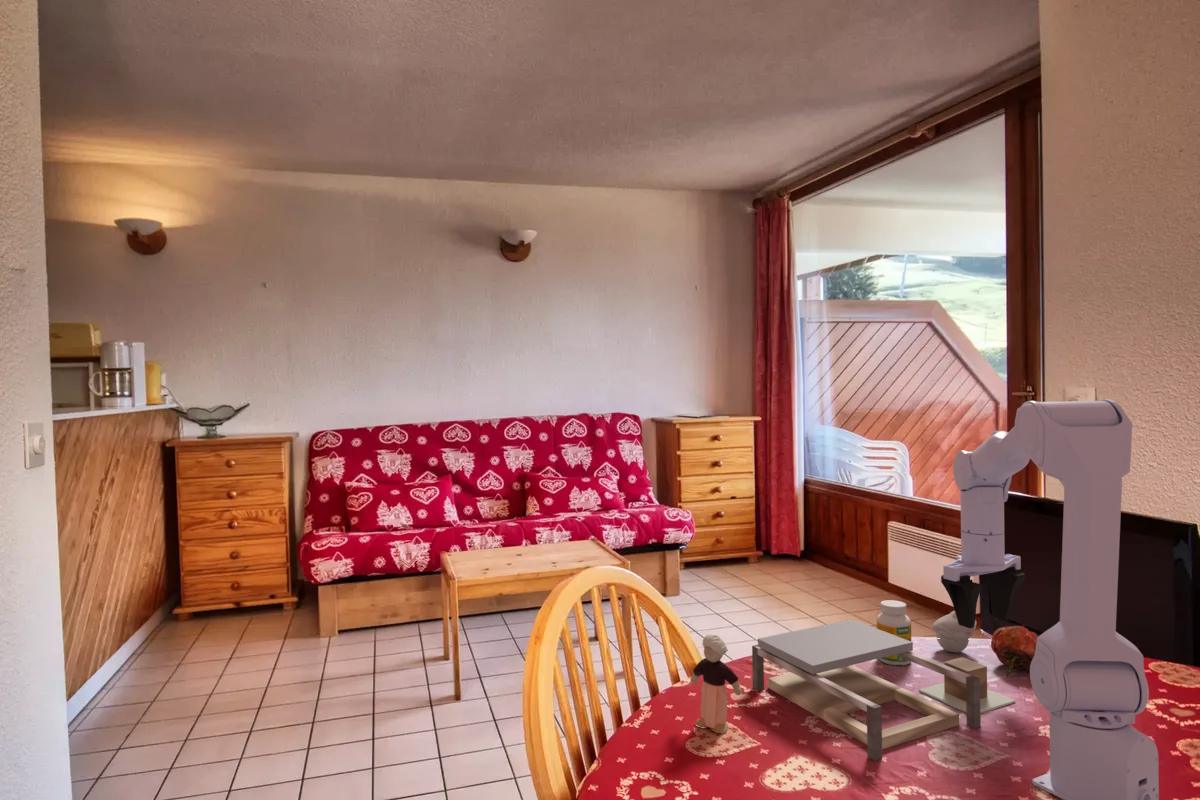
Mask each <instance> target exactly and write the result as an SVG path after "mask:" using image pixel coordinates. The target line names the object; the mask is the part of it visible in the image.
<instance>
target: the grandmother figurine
mask: <svg viewBox="0 0 1200 800" xmlns="http://www.w3.org/2000/svg"><path fill="white" fill-rule="evenodd" d="M702 646H703V655H704V657H705V658H703V659H701V660H700V661H699V662H698V663H697V664H696V666H695V667H694V668H693V672H692V676H691V678H690V682H691V684H692V685H697V684H698V682H699V679H700V677H701V676H702V678H703V679H702V682H701V703H700V718H698V719H697V720H696V721H695V723H696V725H698V726H700V727H707V726H708V728H710V729H712V730H711V732H712V731H714V732H716V734H718V733H723V734H725V733H726V732H727V731H726V730H728V729H729V725H728V723H727V717H728V716H727V713H728V697H727V688H726V684H727V683H728V684H729V685H730V686H731V688H732V689H733V692H734V694H735V695H737V696H740V695H742V694H743V690H742V688H741V687H740V682H739V677H738V676H737V675H736V673H735V672H734V671H733V670H732V668H730V667H729V666H727V664H725V663H724V661H722V660H721V659H722V658H723V656H724V655H725V654H726V653H727V652H728V651H729V649H728V648H727V644H726V643H725V642H724V640H722V638H721V637H720V636H719V635H718V634H717V635H716V634H707V635H705V636H704V637H703V639H702ZM726 682H727V683H726ZM727 728H728V729H727ZM714 732H713V733H714Z"/></svg>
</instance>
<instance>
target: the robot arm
mask: <svg viewBox="0 0 1200 800" xmlns="http://www.w3.org/2000/svg"><path fill="white" fill-rule="evenodd" d="M1132 435H1133V422H1132V421H1131V419H1130V418H1129V416H1128V415H1127V413H1126V412H1125V410H1124V409H1123V407H1122V406H1121V405H1120V404H1119V403H1118V402H1117V401H1115V400H1113V399H1101V400H1082V401H1081V400H1080V401H1079V400H1077V401H1075V400H1074V401H1036V400H1027V401H1025V402H1023V404H1022V405H1021V406H1020V407H1018V408H1017V409H1016V414H1015V419H1014V426H1013V427H1012V428H1011V429H1010V431H1006V430H994V431H993V432H992V433H991V434H990V437H989V438H987V439H986V440H985V441H984V442H983V443H980V445H978V446H977V447H976V449H974V450H973V451H967V450H963V449H962V450H958V451H957V453H956V454H955V456H954V459H953V465H952V470H953V471H952V473H953V478H954V482H955V485H956V487H957V488H958V489H959V490H960V492H959V493H960V546H961V547H960V549H961V550H960V553H961V555H960V554H959V555H956V556H955V561H953V562H951V563H949V564H948V563H947V564H945V565H943V567H942V568H943V574H942V575H940V582H941V584H942V585H943V587H944V588H945V590H946V592H947V594H948V595H949V598H950V600H951V604H952V607H953V610H954V611H955V613H956V616H957V620H958V624H959V625H961V626H964V627H967V628H974V625H975V620H976V617H977V615H976V614H977V605H978V601H979V597H980V593H981V591H982V588H983V587H984V585H983V584H982V583H978V582H974V580H973V579H971V577H976V576H981V575H984V577H985V580H986V583H987V586H988V592H989V599H990V610H991V614H992V617H993V618H996V619H1000V620H1002V621H1009V617H1010V614H1011V612H1012V607H1013V604H1014V601H1015V598H1016V595H1017V593H1018V591H1019V589H1020V587H1021V585H1022V584H1023V583H1024V581H1025V579H1026V574H1025V573H1024V572H1021V571H1018V570H1021V567H1022V566H1021V565H1022V563H1021V560H1022V559H1021V558H1022V557H1021V556H1020V555H1016V554H1014V555H1013V554H1010V553H1006V554H1005V552H1006V551H1005V550H1006V549H1005V548H1006V547H1005V502H1006V503H1007V501H1008V499H1009V488H1010V486H1011V484H1012V483H1011V482H1012V476H1013V475H1015V474H1016V473H1019V472H1021V471H1022V470H1023V469H1024V468H1026V466H1027V465H1028V464H1029V462H1030V460H1031V462H1033V463H1034V464H1035V465H1036V467H1037V468H1038V469H1039V470H1040V471H1041V473H1043V474H1044V475H1047V476H1049V477H1051V478H1053V479H1056V480H1059V482H1060V483H1061V484H1062V487H1063V513H1062V514H1063V517H1062V518H1063V519H1062V521H1063V522H1062V543H1061V544H1062V545H1061V547H1062V548H1061V550H1062V552H1061V576H1060V577H1061V578H1060V579H1061V580H1060V601H1059V602H1060V603H1059V621H1057V623H1056V624H1054V625H1053V626H1051V627H1050V628H1048V629H1047V630H1045V631H1044V632H1043V633H1042V634H1040V635H1038V638H1037V644H1036V650H1035V655H1034V658H1033V660H1032V662H1031V665H1030V671H1029V678H1030V683H1031V687H1032V690H1033V693H1034V695H1035V697H1036V699H1037V700H1038V702H1039V703H1040V704H1041V705H1042V707H1044V709H1045V710H1047V711H1048V713H1049V767H1050V768H1049V772H1048V773H1044V774H1043V775H1040V776H1037V777H1035V778H1032V780H1031V781H1032V784H1033V785H1034V786H1036V787H1038V788H1040V789H1042V790H1044V791H1046V792H1048V793H1049V794H1052V795H1054V796H1055V797H1057V798H1060V799H1061V800H1159V799H1160V793H1159V792H1160V789H1159V788H1160V785H1159V782H1160V781H1159V779H1160V777H1159V776H1160V775H1159V774H1160V773H1159V767H1160V766H1159V750H1158V747H1157V745H1156V742H1155V740H1154V739H1153V738H1152V737H1149V736H1148V735H1146V734H1144V733H1142V732H1141V731H1139V730H1138V729H1137V728H1135V727H1134V726H1133V724H1136V715H1140V714H1141V713H1143V712H1144V711H1145V709H1146V708H1147V704H1148V701H1149V697H1150V696H1149V695H1150V690H1149V689H1150V688H1149V684H1148V680H1147V678H1146V673H1145V668H1144V667H1145V664H1144V655H1143V654H1142V653H1141V651H1140V650H1139V649H1138V647H1137V646H1136V645H1135V644H1133V643H1132V642H1131V641H1129V640H1128V639H1127V638H1126V637H1124V636H1123V635H1121V634H1119V632H1117V631H1116V630H1117V606H1118V605H1117V604H1118V589H1119V588H1118V583H1119V565H1120V564H1119V563H1120V562H1119V561H1120V539H1121V538H1120V536H1121V513H1122V491H1123V490H1122V488H1123V477H1125V476H1126V475H1128V474H1129V473H1130V472H1131V460H1132V440H1133V439H1132V437H1133V436H1132ZM1016 570H1017V571H1016Z"/></svg>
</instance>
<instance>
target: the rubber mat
mask: <svg viewBox="0 0 1200 800" xmlns="http://www.w3.org/2000/svg"><path fill="white" fill-rule="evenodd" d="M918 692H919V693H921V694H924V695H926V696H929V697H930V698H933V699H935V700H937V701H940V702H941V703H944V704H946V705H947V706H951V707H953V708H955V709H957V710H959V711H961V712H962V713H963V712H964V713H966V701H964V700H961V699H959V698H957V697H955V696H952V695H950V694H948V693H946V692H944V682H940V683H936V684H934V685H930V686H927V687H922V688H919V689H918ZM1015 703H1016V700H1015V699H1013V698H1010V697H1008V696H1005V695H1003V694H1001V693H998V692H995V691H993V690H991V689H988V688H987V697H986V698H982V699H980V712H981V714H983V713H986V712H990V711H993V710H996V709H998V708H1002V707H1004V706H1009V705H1012V704H1015Z"/></svg>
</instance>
